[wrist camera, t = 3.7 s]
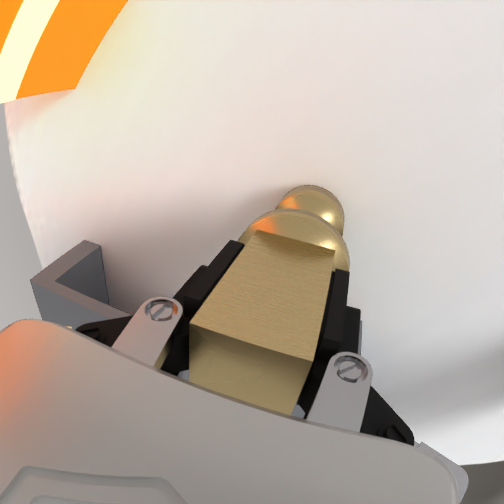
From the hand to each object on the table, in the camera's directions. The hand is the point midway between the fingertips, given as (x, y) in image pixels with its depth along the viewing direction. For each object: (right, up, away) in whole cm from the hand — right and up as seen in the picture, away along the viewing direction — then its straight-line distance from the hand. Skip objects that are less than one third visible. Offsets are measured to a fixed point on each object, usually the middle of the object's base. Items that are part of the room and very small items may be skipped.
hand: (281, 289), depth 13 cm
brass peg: (+2, +3, +7) cm, 8 cm away
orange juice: (-15, +19, +5) cm, 25 cm away
